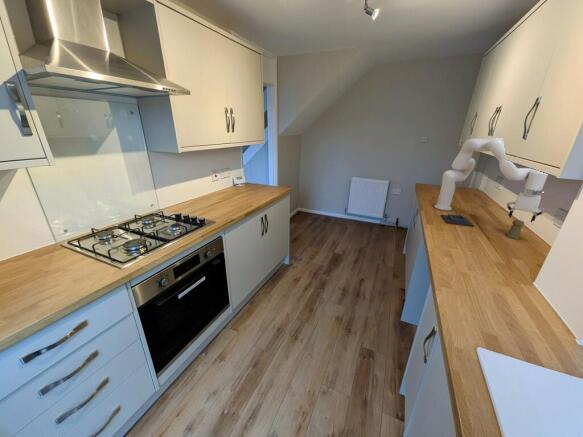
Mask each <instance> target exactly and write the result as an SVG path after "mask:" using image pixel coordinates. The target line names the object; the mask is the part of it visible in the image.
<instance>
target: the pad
mask: <svg viewBox="0 0 583 437" xmlns="http://www.w3.org/2000/svg"><path fill="white" fill-rule="evenodd" d="M440 216H441V218H442V219H443V220H444V222H445V223H446V224H449V225H456V226H465V227H471V228H472V227H474V224H473V223H472V221H470V220H469V219H468V218H467V217H465V216H464V215H462V214H461V215H460V214H453V213H451V214H450V213H448V214H441V215H440Z"/></svg>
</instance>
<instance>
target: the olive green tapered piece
mask: <svg viewBox="0 0 583 437" xmlns="http://www.w3.org/2000/svg"><path fill="white" fill-rule="evenodd" d="M524 225H525V222H524V221H523V220H521V219H514V220H513V221H512V225H511V227H510V229H509V230H508V232H507V233H506V237H507V238H510V239H513V240H514V239H515V240H519V239H520V237H521V236H520V235H521V231H522V227H523V226H524Z"/></svg>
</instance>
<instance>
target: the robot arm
mask: <svg viewBox="0 0 583 437" xmlns="http://www.w3.org/2000/svg"><path fill="white" fill-rule="evenodd" d="M503 138H504V137H494V138H470V139H467V140H466V141H465V142H463V144H462V146H461V148H460V150H459V152H458V153H457V155H456V157H455V158H454V160H453V162H452V164H451V168H452V169H449V170H446V171H444V172H443V174H442V182H441V187H440V190H439V194H438V198H437V202H436V204H434V205H433V207H434V208H435V209H437V210H441V211H452V209H453V208H452V206H451V205H452V201H453V197H454V194H455V191H456V183H460V182H464V181H466V180H467V178H468V177H469V175H470V174H471V173H472V171H473V170H474V168H475V166H476V160H475V158H473V155H474V152H490V153H491V154H492V155H493V156H494V157H495V158H496V159H497V161H498V162H499V164H498V167H499V170H500V173H501V174H502V175H503V176H504V177H505V178H506V179H507V180H509V181H511V182H524V187H523V189H522V191H521V192H519V194H518V195H517V197H516V199H515V201H510V202H506V207H507V209H508V211H509V212H508V217H509V219H511V218H512V217H513V214H514V211H515V210H517V211H522V212H528V213H532V214H533V215H532V217H531V219H530V223H533V222H535V220H536V218H537V217H538V216H540V215H542V214H544V213H545V212H546V211H547V209H545V208H544V207H542V206H540V203H541V199H542V195H545V191H542V190H543V188H544V186H545V183H546V181H547V178H548V176H549V173H548V174H546V173H543V172H540V171H541V170H539V171H538V169H533V168H529V167H517V166H516V165H515V164H514V162H513V161H512V160H511V161H512V162H511V161H508V160H505V159H507V157H506V154H505V148H504V141H503ZM511 205H513V207H511ZM537 210H540V211H539V212H537Z"/></svg>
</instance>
